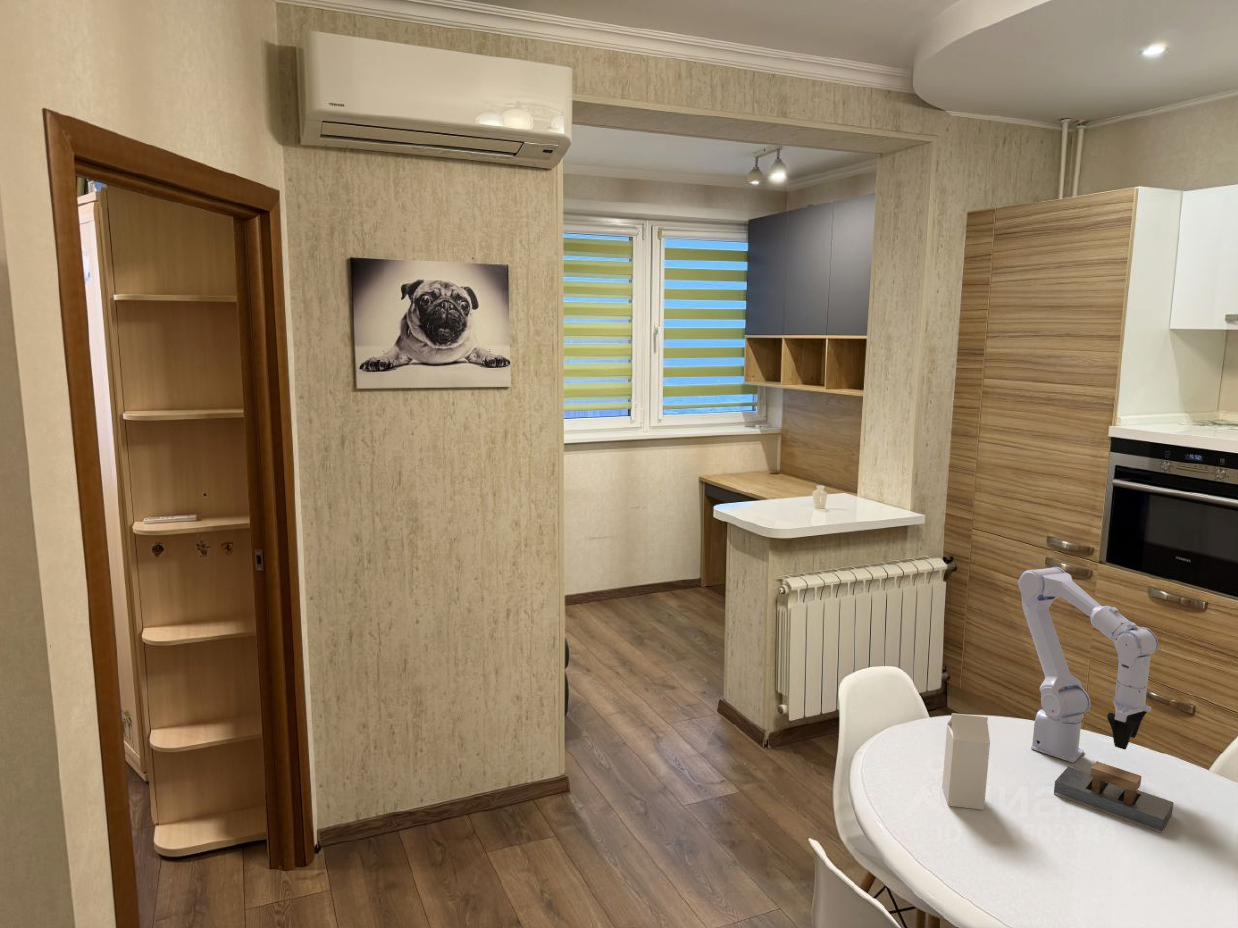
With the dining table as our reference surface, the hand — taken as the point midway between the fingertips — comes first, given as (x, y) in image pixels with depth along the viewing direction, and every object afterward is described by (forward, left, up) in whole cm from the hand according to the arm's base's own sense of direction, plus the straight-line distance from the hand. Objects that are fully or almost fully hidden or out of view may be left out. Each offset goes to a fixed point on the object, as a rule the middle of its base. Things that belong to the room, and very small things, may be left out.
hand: (1125, 741), depth 181 cm
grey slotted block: (+1, -11, -10) cm, 15 cm away
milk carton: (-22, -32, -10) cm, 40 cm away
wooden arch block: (+1, -11, -9) cm, 15 cm away
